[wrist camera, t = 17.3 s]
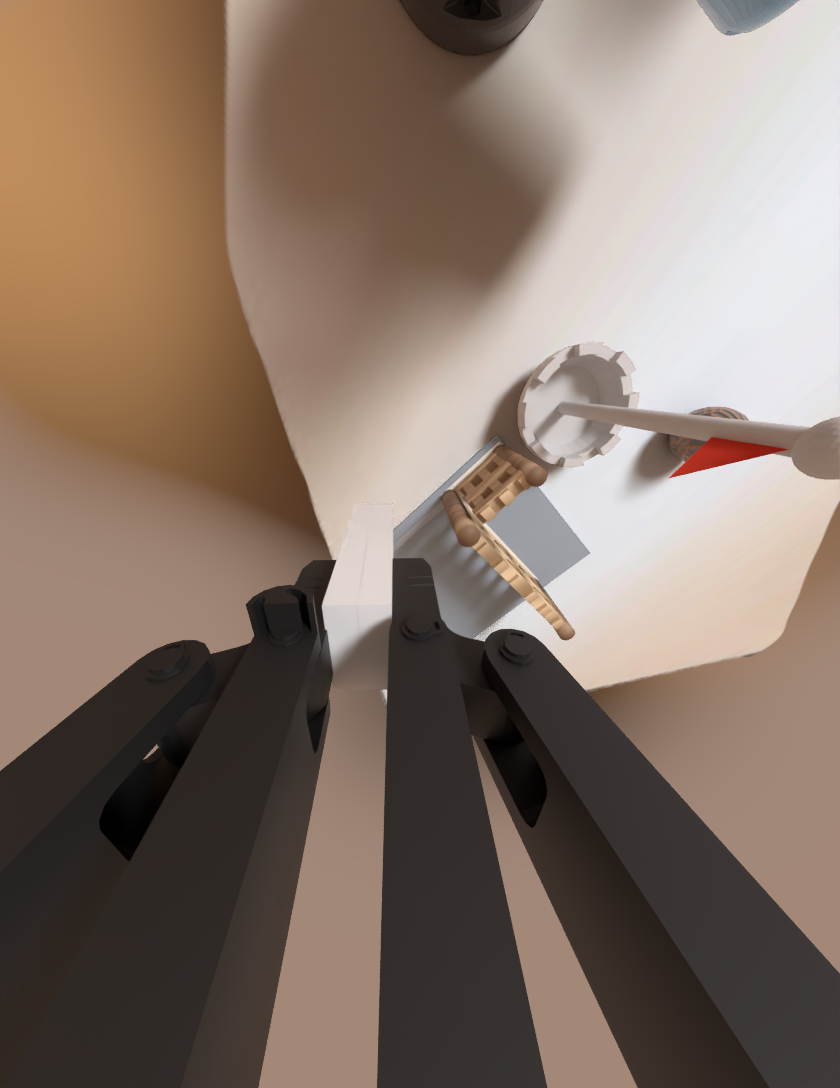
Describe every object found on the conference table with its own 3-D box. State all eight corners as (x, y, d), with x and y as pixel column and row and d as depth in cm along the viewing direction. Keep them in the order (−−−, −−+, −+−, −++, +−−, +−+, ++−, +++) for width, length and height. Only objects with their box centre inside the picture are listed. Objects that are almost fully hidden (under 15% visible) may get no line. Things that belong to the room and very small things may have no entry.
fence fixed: (437, 496, 44) (452, 537, 33) (499, 439, 42) (540, 461, 30) (448, 507, 45) (467, 551, 34) (510, 453, 42) (554, 479, 31)
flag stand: (598, 324, 36) (1152, 166, 10) (618, 429, 42) (1002, 510, 16) (494, 381, 38) (720, 379, 12) (527, 474, 44) (729, 615, 17)
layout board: (345, 574, 49) (344, 576, 49) (496, 434, 41) (497, 435, 41) (449, 653, 59) (449, 655, 58) (588, 551, 51) (590, 553, 50)
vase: (708, 448, 44) (775, 462, 36) (658, 465, 45) (714, 482, 37) (712, 397, 41) (787, 400, 33) (659, 416, 42) (720, 423, 34)
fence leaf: (453, 512, 45) (471, 551, 34) (464, 502, 44) (485, 539, 34) (530, 590, 52) (564, 642, 42) (540, 582, 51) (577, 633, 41)
